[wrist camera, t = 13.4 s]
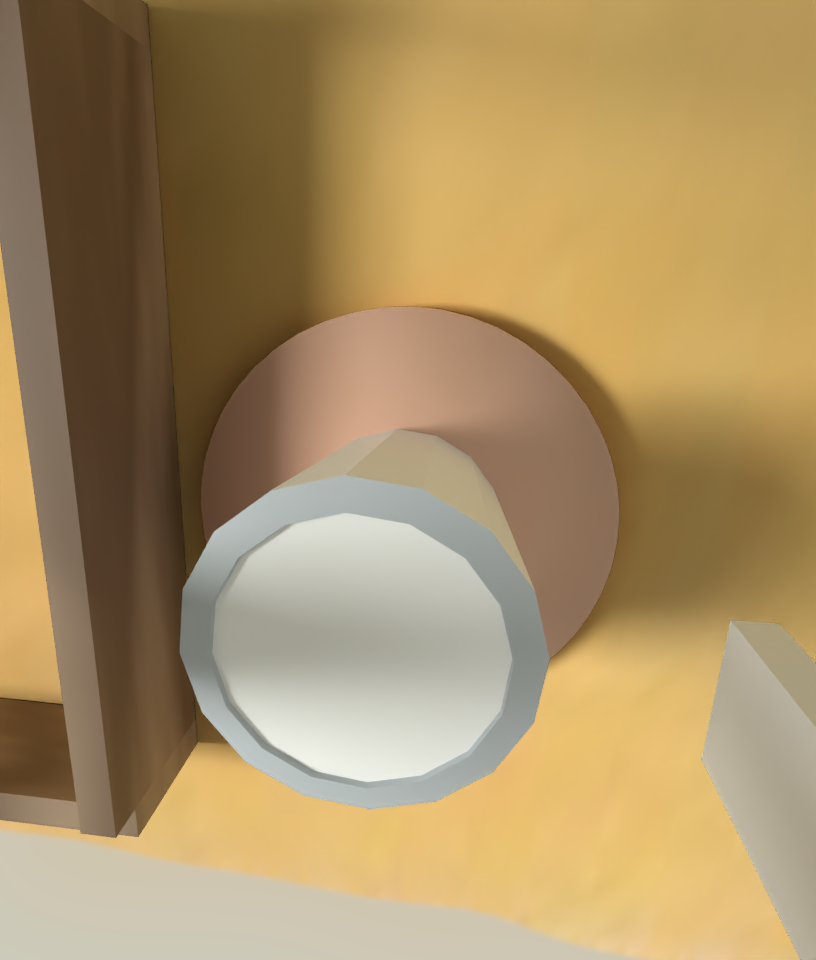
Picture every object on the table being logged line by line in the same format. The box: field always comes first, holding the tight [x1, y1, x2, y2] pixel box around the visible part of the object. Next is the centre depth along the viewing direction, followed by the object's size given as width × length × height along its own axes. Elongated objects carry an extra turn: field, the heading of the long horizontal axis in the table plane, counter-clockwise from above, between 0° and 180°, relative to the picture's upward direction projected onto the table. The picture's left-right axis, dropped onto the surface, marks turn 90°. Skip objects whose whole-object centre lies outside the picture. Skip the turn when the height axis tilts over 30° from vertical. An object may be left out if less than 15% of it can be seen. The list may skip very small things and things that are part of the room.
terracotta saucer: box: [201, 306, 620, 659], centre depth 18 cm, size 12×12×1 cm
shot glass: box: [179, 429, 550, 809], centre depth 15 cm, size 7×7×7 cm
